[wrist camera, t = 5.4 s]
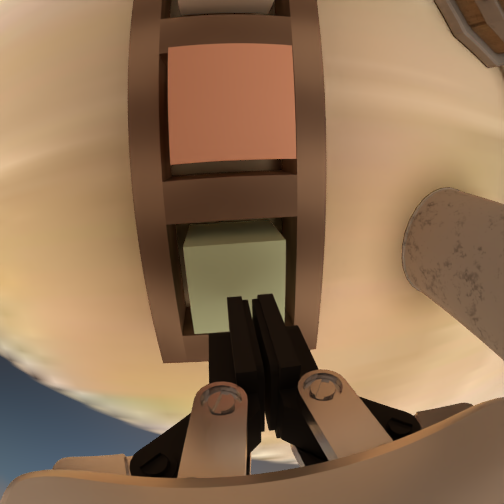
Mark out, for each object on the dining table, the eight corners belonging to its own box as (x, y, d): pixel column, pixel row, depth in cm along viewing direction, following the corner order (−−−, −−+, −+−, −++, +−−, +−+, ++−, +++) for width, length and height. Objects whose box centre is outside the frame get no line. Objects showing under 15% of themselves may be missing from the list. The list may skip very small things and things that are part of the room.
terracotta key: (179, 74, 13) (168, 47, 9) (271, 71, 14) (292, 45, 10) (181, 161, 15) (170, 164, 11) (273, 156, 16) (296, 158, 11)
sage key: (189, 224, 18) (183, 247, 14) (268, 219, 19) (285, 240, 14) (197, 296, 20) (194, 333, 16) (269, 290, 20) (284, 326, 16)
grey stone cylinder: (444, 303, 24) (527, 373, 12) (382, 272, 21) (489, 366, 10) (485, 217, 21) (582, 260, 10) (432, 165, 19) (564, 197, 8)
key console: (153, -47, 11) (147, -73, 8) (291, -49, 12) (304, -73, 9) (168, 333, 21) (163, 363, 17) (301, 321, 22) (315, 348, 18)
